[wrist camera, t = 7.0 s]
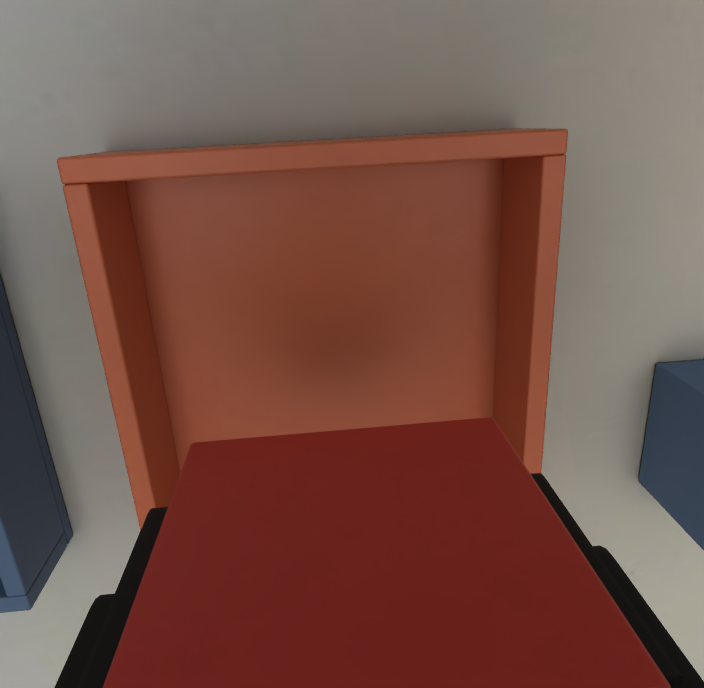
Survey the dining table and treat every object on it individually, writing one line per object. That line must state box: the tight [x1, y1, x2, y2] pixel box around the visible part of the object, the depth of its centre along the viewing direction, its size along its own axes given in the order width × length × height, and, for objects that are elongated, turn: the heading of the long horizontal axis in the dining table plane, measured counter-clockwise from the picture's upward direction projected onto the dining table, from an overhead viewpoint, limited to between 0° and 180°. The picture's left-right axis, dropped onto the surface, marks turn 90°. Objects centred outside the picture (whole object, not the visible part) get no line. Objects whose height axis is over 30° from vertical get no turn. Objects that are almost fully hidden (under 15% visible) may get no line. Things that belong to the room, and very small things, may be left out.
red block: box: [103, 417, 671, 688], centre depth 8 cm, size 5×5×5 cm
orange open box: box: [57, 128, 568, 529], centre depth 18 cm, size 13×12×4 cm
